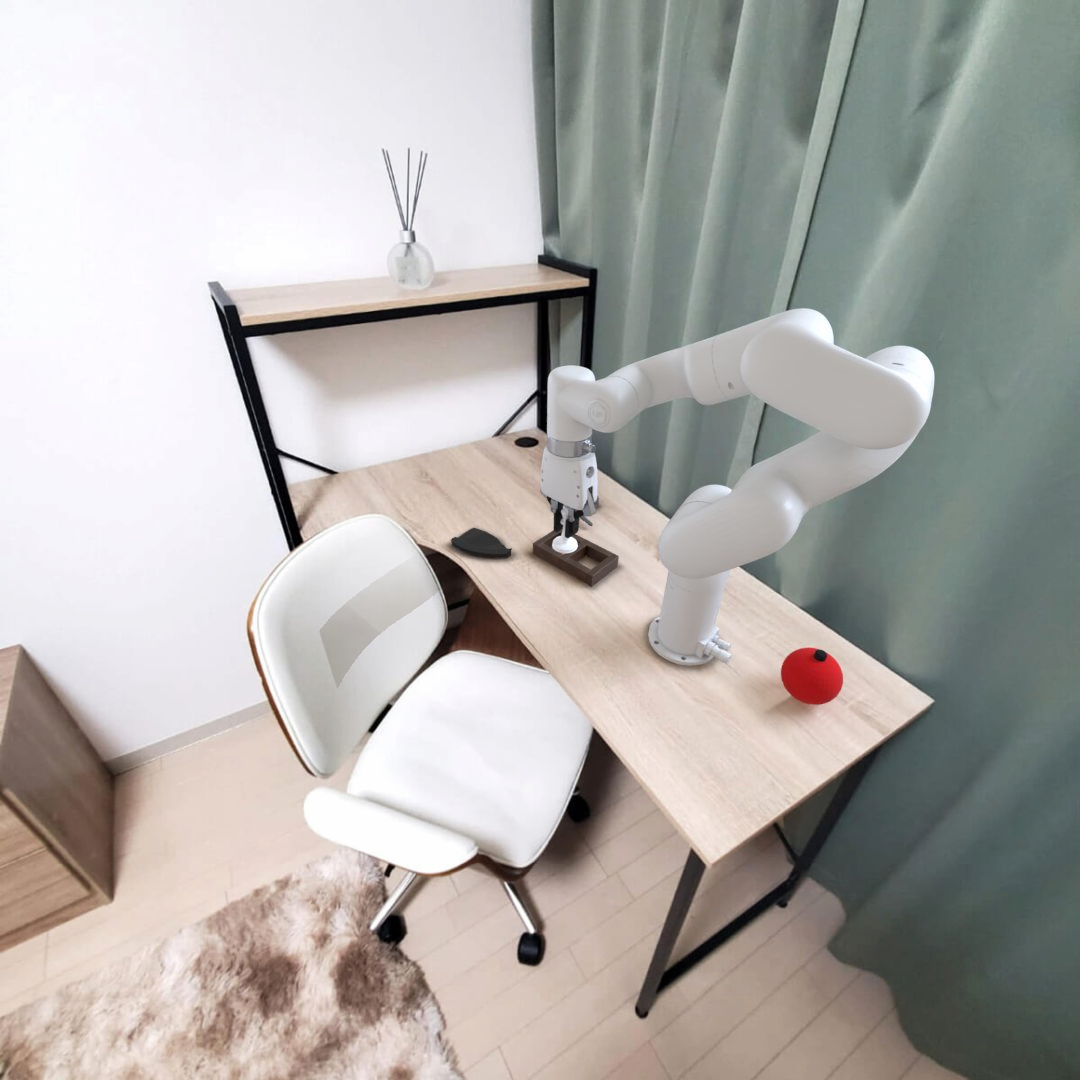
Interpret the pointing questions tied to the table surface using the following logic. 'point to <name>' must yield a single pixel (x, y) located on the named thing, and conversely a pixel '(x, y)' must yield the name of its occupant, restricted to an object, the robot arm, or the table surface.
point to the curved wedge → (480, 544)
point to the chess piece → (562, 542)
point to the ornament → (812, 676)
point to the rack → (577, 558)
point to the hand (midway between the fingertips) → (565, 531)
